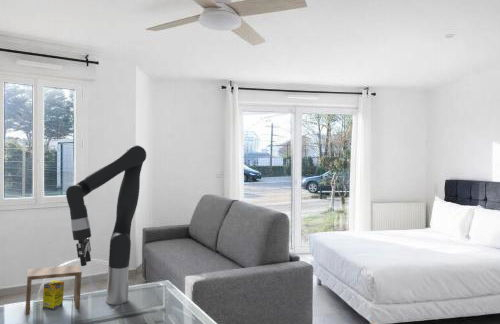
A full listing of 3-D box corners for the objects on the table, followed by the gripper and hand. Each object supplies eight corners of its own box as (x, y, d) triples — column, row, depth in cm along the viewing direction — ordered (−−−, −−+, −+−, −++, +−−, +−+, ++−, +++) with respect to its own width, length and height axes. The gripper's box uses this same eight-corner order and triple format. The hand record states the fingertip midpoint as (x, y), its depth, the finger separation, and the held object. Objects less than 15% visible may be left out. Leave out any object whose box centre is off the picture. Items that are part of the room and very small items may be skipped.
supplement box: (53, 310, 166) (55, 286, 166) (42, 308, 168) (43, 284, 167) (63, 305, 172) (64, 281, 172) (51, 303, 174) (53, 279, 173)
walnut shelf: (77, 299, 180) (79, 265, 179) (79, 307, 171) (81, 271, 170) (25, 305, 169) (27, 269, 168) (25, 314, 160) (27, 276, 160)
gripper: (86, 228, 166) (91, 265, 165) (93, 224, 180) (98, 258, 179) (67, 232, 164) (73, 269, 164) (76, 227, 178) (81, 261, 178)
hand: (86, 263), depth 172 cm, fingers open, 8 cm apart
